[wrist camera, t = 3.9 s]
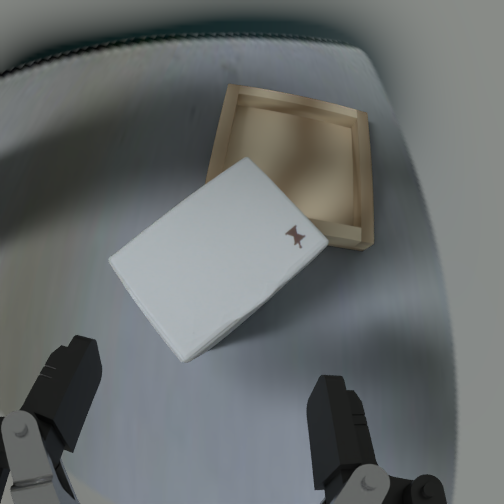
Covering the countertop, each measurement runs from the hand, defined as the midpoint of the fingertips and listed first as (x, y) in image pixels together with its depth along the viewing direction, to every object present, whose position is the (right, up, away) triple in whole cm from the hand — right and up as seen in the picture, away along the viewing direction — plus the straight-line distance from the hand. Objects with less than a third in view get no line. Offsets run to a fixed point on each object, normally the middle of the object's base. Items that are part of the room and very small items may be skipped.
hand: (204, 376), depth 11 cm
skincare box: (-1, +1, +11) cm, 11 cm away
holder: (+5, +11, +14) cm, 18 cm away
